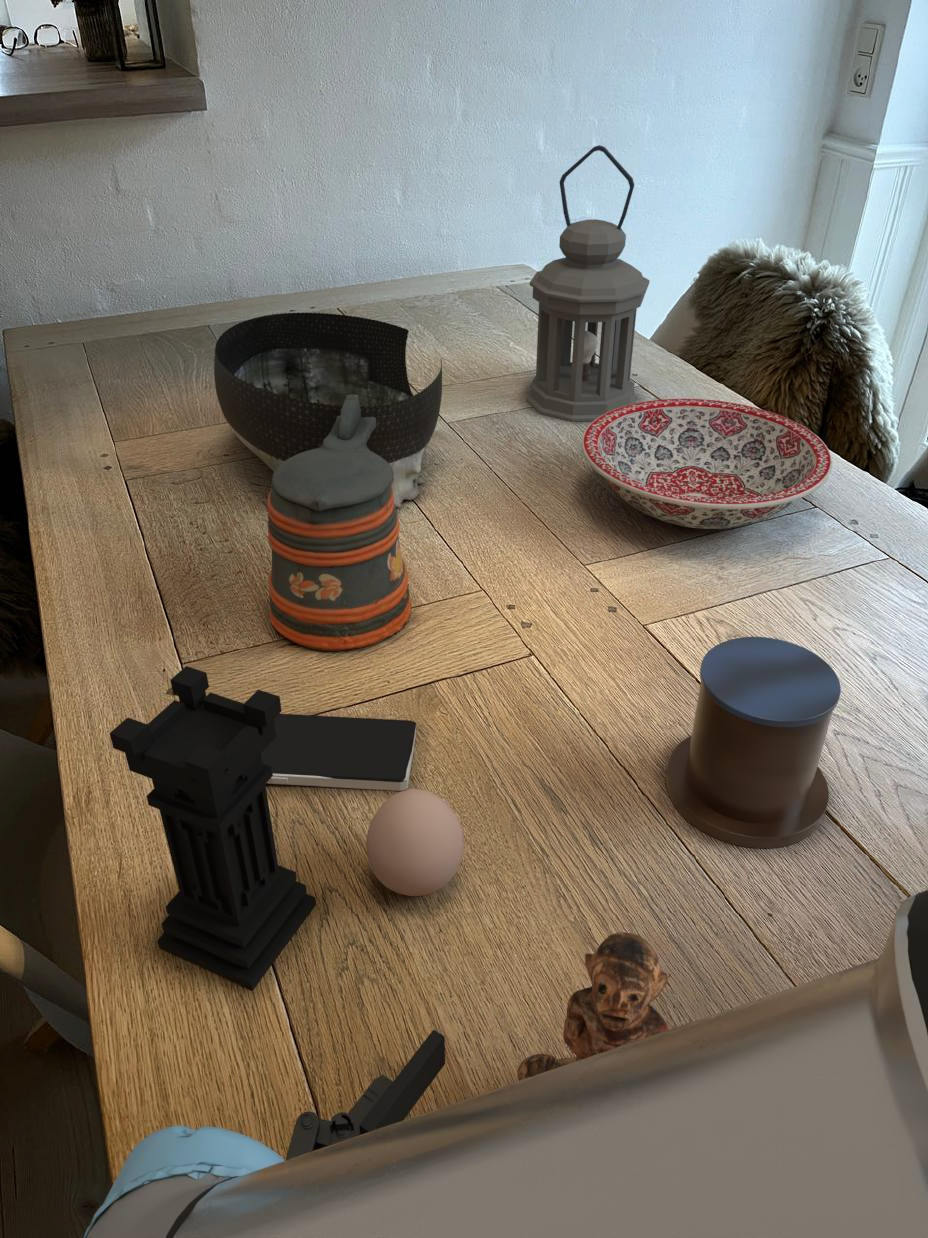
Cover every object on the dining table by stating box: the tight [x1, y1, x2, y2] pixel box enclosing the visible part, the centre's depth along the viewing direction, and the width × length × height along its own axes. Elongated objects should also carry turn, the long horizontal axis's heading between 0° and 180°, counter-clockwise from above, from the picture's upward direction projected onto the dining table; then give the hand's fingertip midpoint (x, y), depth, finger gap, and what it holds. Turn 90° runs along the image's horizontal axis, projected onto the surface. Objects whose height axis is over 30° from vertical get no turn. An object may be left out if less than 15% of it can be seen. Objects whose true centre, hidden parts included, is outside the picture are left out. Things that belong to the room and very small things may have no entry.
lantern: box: [525, 144, 650, 423], centre depth 141 cm, size 17×17×35 cm
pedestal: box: [665, 636, 842, 849], centre depth 80 cm, size 13×13×12 cm
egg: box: [365, 788, 465, 897], centre depth 73 cm, size 7×7×8 cm
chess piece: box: [108, 665, 317, 991], centre depth 67 cm, size 8×8×20 cm
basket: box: [213, 312, 443, 509], centre depth 129 cm, size 28×35×16 cm
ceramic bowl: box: [581, 398, 833, 530], centre depth 121 cm, size 29×29×8 cm
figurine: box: [516, 931, 672, 1081], centre depth 57 cm, size 7×7×15 cm
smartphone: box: [261, 713, 417, 792], centre depth 87 cm, size 8×1×15 cm
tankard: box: [267, 394, 412, 652], centre depth 101 cm, size 19×15×20 cm
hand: (544, 1113), depth 53 cm, fingers open, 13 cm apart
